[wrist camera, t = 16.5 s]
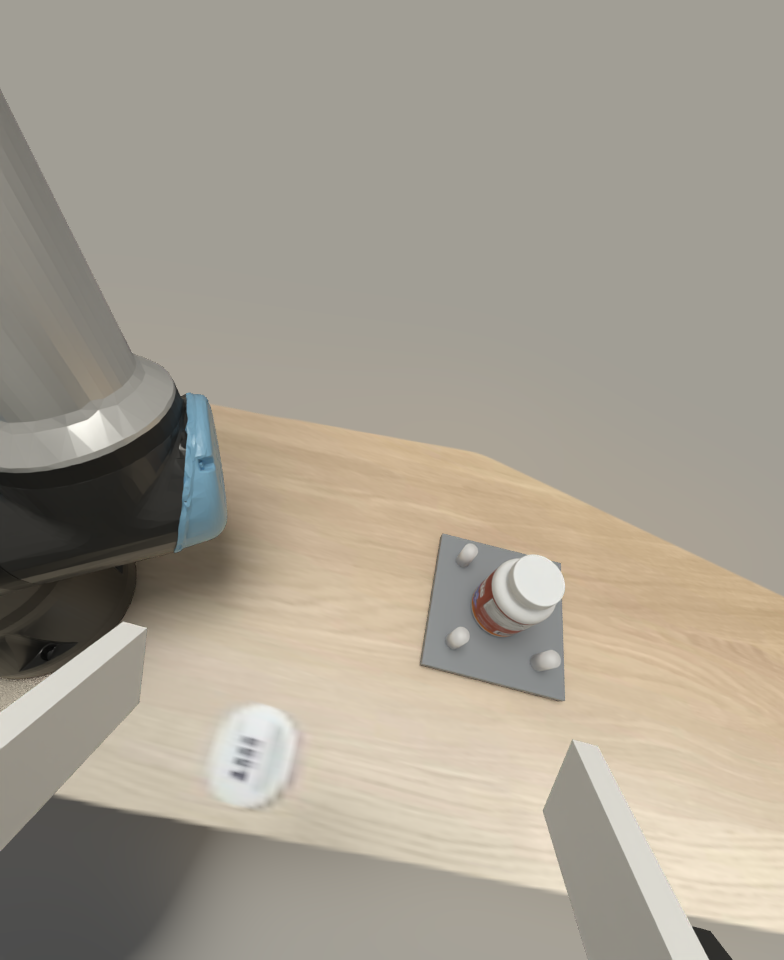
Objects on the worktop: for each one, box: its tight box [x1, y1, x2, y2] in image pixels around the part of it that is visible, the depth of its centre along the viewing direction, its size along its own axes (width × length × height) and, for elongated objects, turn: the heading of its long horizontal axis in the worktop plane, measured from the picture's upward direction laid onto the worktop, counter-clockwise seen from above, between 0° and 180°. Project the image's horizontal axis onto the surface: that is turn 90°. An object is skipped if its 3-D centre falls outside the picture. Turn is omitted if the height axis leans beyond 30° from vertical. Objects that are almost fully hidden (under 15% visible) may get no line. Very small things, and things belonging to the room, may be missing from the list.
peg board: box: [420, 534, 565, 701], centre depth 41 cm, size 15×15×5 cm
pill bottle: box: [471, 555, 565, 637], centre depth 38 cm, size 6×6×11 cm
